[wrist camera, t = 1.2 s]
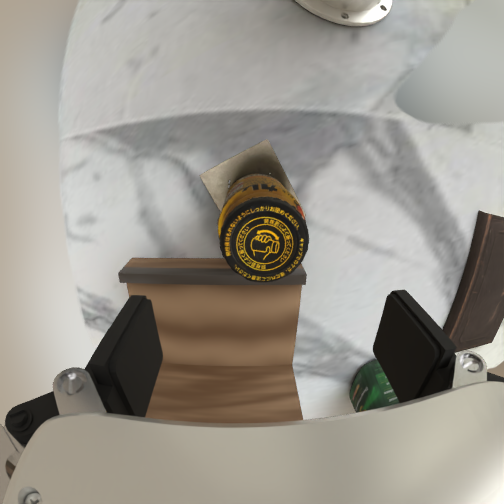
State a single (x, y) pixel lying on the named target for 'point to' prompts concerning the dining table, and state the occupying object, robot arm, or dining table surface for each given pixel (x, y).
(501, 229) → the hardcover book
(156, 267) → the rack
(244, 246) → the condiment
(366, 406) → the coffee jar
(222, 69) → the dining table surface
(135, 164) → the dining table surface
